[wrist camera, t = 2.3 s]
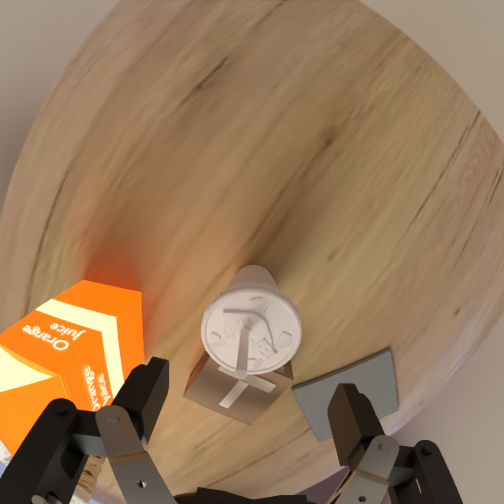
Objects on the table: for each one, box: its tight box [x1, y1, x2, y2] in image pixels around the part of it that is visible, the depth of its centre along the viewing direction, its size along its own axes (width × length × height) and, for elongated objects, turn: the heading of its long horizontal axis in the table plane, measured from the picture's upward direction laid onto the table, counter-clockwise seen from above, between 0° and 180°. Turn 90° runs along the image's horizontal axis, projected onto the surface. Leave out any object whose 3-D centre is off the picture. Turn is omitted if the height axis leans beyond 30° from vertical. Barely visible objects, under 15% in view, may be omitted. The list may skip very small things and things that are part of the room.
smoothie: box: [201, 265, 302, 379], centre depth 19 cm, size 6×6×14 cm
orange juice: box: [0, 280, 144, 456], centre depth 18 cm, size 8×9×20 cm
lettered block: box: [183, 351, 294, 425], centre depth 26 cm, size 8×8×4 cm
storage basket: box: [0, 440, 106, 504], centre depth 27 cm, size 24×16×15 cm
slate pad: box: [292, 348, 398, 442], centre depth 29 cm, size 12×12×1 cm
